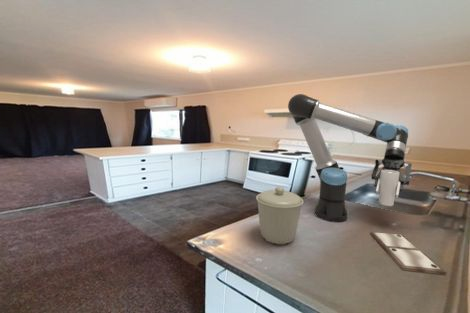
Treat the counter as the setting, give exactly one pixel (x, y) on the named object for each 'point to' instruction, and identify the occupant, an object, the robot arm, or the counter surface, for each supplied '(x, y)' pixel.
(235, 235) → the counter surface
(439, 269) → the coaster board
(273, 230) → the canister
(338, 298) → the counter surface
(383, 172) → the white cup
